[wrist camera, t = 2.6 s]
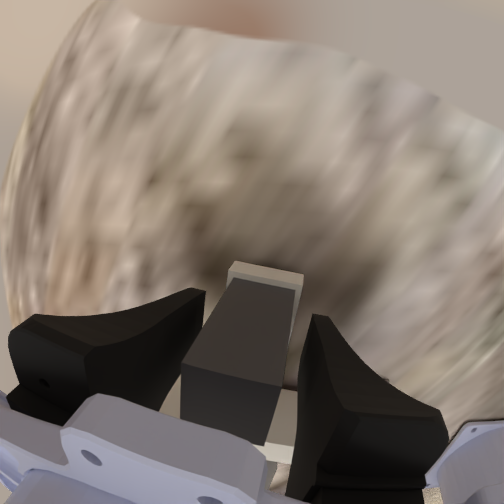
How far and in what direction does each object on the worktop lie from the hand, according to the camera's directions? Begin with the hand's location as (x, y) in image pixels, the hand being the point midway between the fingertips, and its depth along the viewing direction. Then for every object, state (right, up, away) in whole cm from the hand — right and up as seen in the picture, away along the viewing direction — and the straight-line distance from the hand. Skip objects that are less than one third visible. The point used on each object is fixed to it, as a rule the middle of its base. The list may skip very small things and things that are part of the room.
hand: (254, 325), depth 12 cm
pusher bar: (0, -2, +4) cm, 4 cm away
